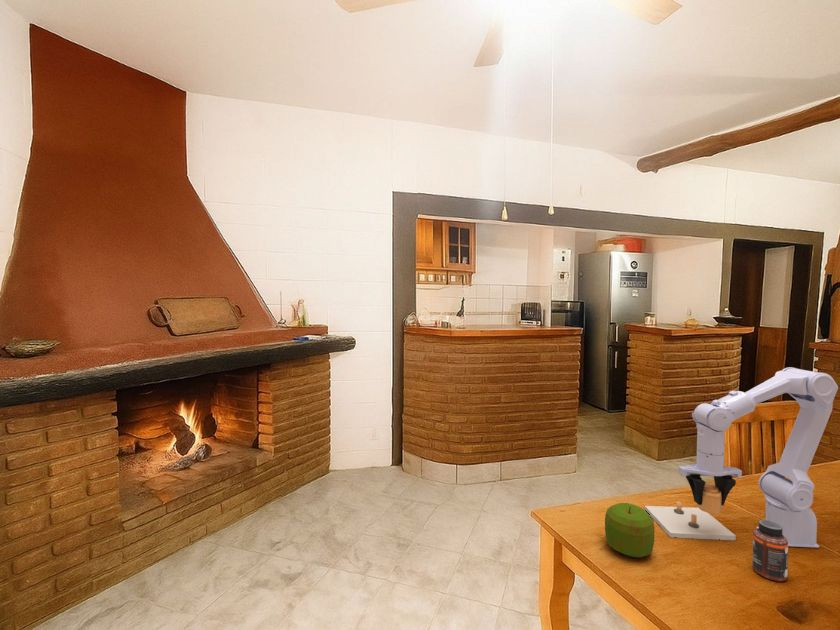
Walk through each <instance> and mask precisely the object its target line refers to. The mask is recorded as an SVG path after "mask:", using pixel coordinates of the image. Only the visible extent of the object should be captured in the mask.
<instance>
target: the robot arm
mask: <svg viewBox="0 0 840 630" xmlns="http://www.w3.org/2000/svg"><path fill="white" fill-rule="evenodd" d="M774 373H775V374H774V376H773V377H771V378H769V379H766V380H765V381H764V382H762V383H760V384H758V385H756V386H754V387H752V388H751V389H749V390H747V391H745V392H744V391H740V390H731V391H729V392H728V394H727V395H725V396H723V397H720V398H718V399H714V400H712V402H711V403H706V402H705V403H701V404H699V405H697V406H696V407H695V408H694V411H693V412H691V417H692V419H693V421H694V422H695V424H696V426H695V427H696V430H697V432H696V434H697V435H696V437H697V438H696V463H695V464H688V465H678V474H679V475H681V476H682V477H685V478H686V480H687V482H688V485H689V487H690V490H691V493H692V497H693V501H694V502H695V503H696V505H697V504H698V505H702V500H703V489H704V486H705V484H707V483H706V482H707V481H705V480H704V479H703V478H702V476H703V477H713V481H714V486H716V487H717V488H718V490H720V491H721V496H722V503H721V507H723V506H725V503H726V500H727V497H728V495H729V493H730V492H731V490H732V489H733V488H734V487H735V486H736V485H737V480H736V479H734V478H737V479H742V478H743V476H742V475H743V474H742V473H743V471H742V470H741V469H739V468H737V467H733V466H725V435H726V433H725V432H726V430H728V429H729V428H730V427H731V425H732V423H733V422H735V421H736V420H737V419H738V418H741V417H744V416H745V415H748V414H750V413H752V412H754V411H755V410H756V405H757V404H760V403H762V402H765V401H767V400H770V399H773V398H775V397H778V396H780V395H783V394H788V395H790V397H792V398H793V399H795V401H796V402H797V404H798V406H799V407H800V408H799V411H798V413H797V417H796V418H795V421H794V424H793V426H792V429H791V431H790V434H789V435H788V439H787V442H786V444H785V446H784V449H783V451H782V454H781V457H780V459H779V462H777V463H776V462H775V463H773V464H770V465H768V466H767V469H766V471H765V472H764V473H763V474H761V475H760V476H759V478H758V487H759V490H760V491H761V492H762V493H763V498H765V519H764V520H768V521H772V522H775V523H777V524H779V525H781V526H782V532H783V533H782V534H783V535H784V536H785V537H786V539H787V541H788V547H795V548H820V545H819V544H817V536H818V535H817V533H818V532H817V531H818V530H817V529H818V528H817V527H818V519H817V517H816V514H815V513H814V511H813V509H811V506H812V504H813V502H814V490H815V484H814V482H813V481H812V480H811V478H810V476H809V475H808V472H809V469H810V466H811V465H812V461H813V459H814V456H815V454H816V451H817V449H818V446H819V444H820V441H821V440H822V439H821V438H822V437H823V434H824V431H825V429H826V427H827V424H828V422H829V419H830V416H831V414H832V412H833V409H834V408H833V405H834V404H833V403H834V399H835V398H836V397H835V396H836V395H837V393H838V390H839V386H838V384H837V383H836V381H835V380H834V378H833V377H832V376H831V375H830V374H828V373H826V372H817V371H811V370H805V369H801V368H797V367H793V366H791V367H790V366H789V367H785V368H783V369H782V370H778V371H776V372H774ZM757 528H759V526H756V528H755V529H757Z"/></svg>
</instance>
